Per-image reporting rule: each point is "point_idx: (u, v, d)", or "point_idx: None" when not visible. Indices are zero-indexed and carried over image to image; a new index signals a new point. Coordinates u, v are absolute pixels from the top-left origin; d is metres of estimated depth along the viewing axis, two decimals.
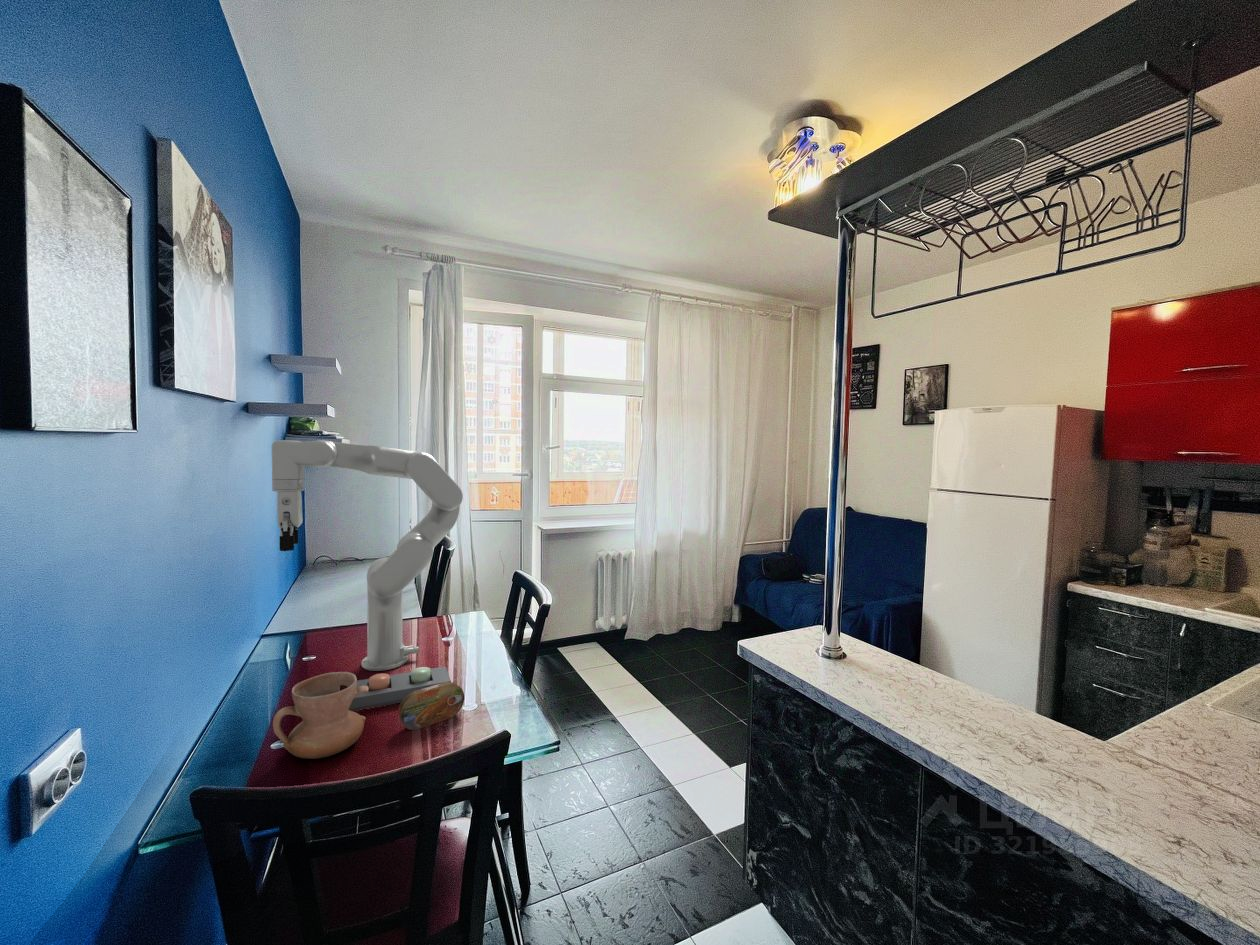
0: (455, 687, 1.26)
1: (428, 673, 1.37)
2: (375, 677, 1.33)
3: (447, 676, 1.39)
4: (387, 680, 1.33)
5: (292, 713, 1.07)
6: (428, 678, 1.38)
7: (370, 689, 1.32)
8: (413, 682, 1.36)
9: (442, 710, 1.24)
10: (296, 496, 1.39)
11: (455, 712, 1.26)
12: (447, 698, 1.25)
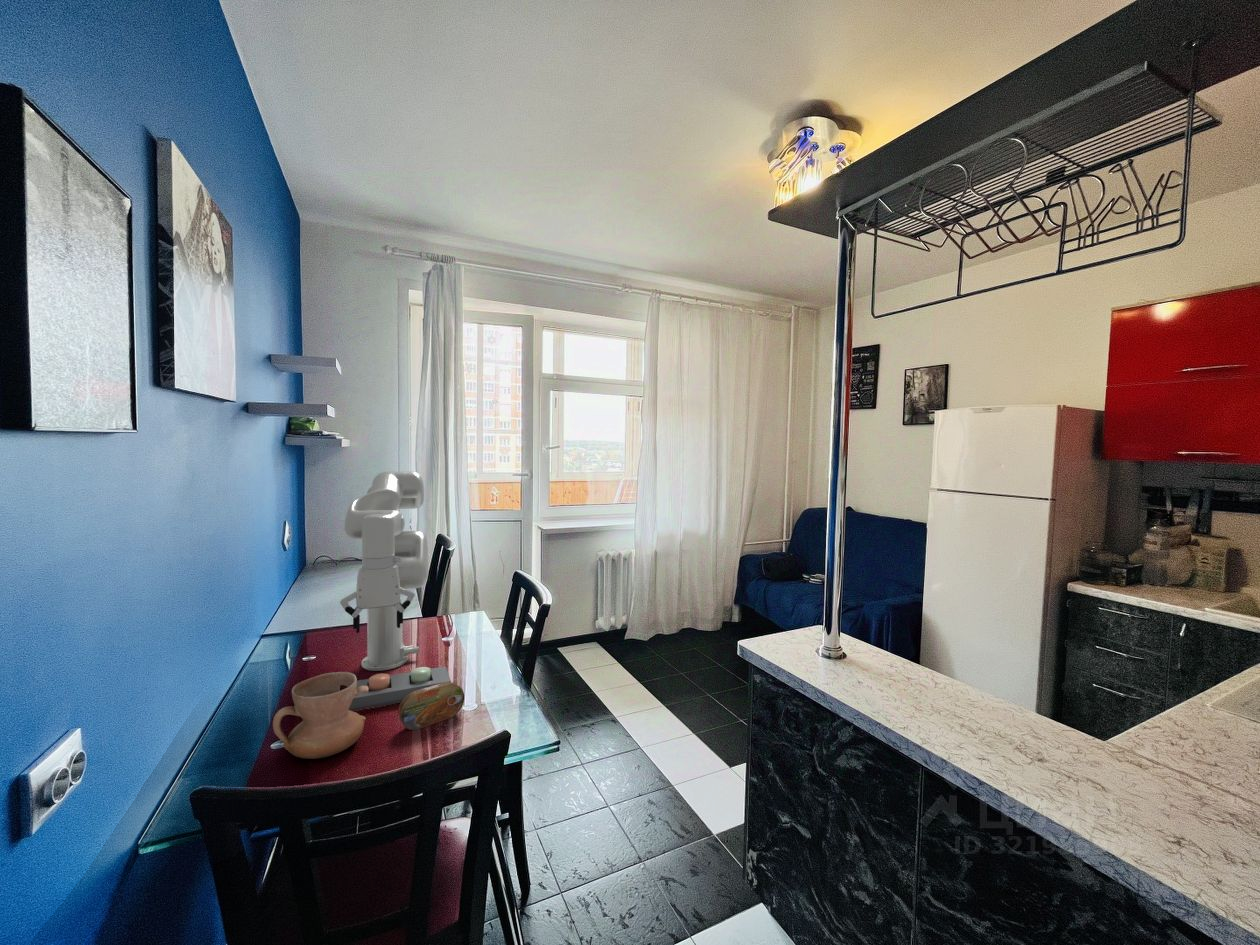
0: (455, 687, 1.26)
1: (428, 673, 1.37)
2: (375, 677, 1.33)
3: (447, 676, 1.39)
4: (387, 680, 1.33)
5: (292, 713, 1.07)
6: (428, 678, 1.38)
7: (370, 689, 1.32)
8: (413, 682, 1.36)
9: (442, 710, 1.24)
10: None
11: (455, 712, 1.26)
12: (447, 698, 1.25)
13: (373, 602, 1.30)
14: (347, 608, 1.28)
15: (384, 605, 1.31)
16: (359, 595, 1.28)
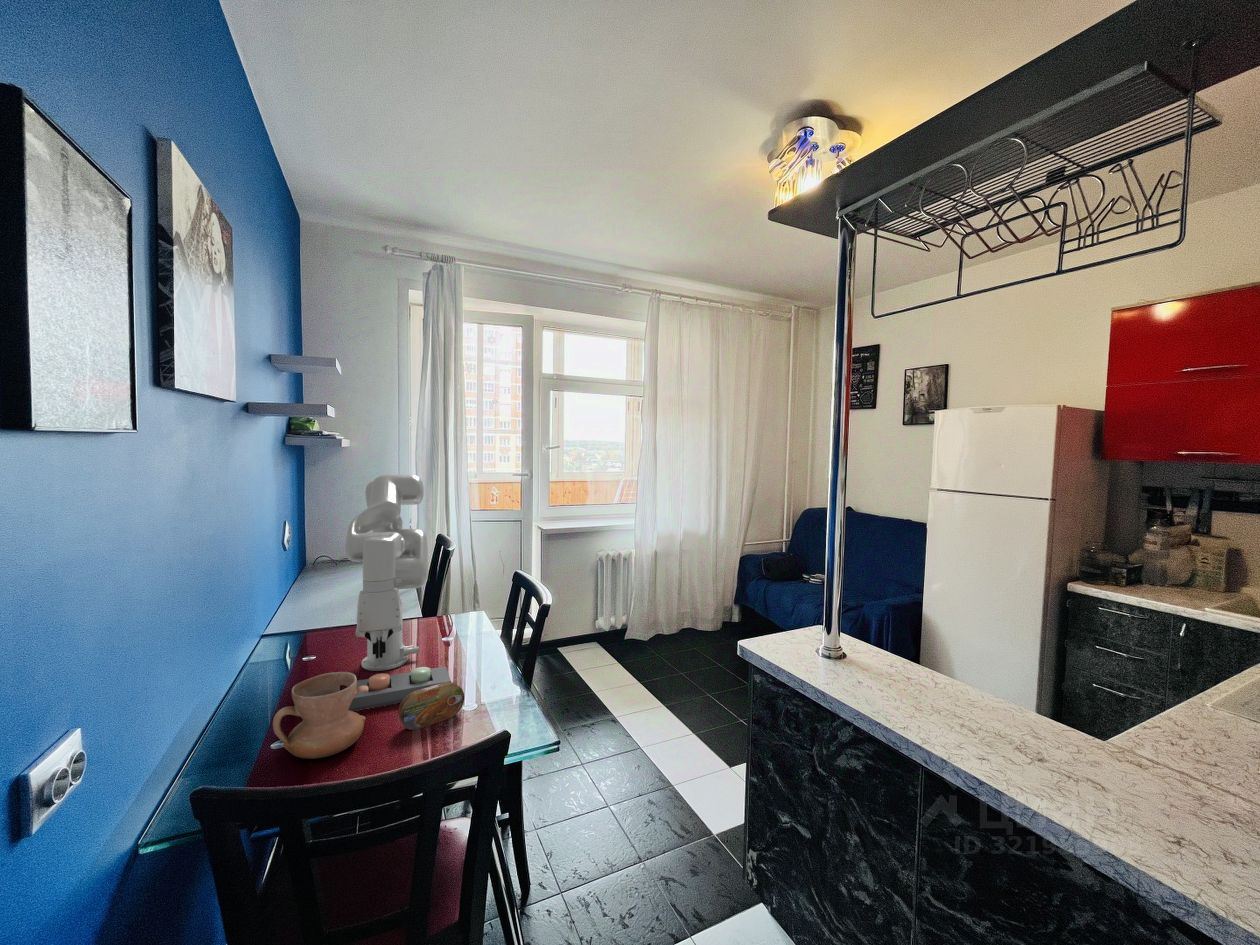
0: (455, 687, 1.26)
1: (428, 673, 1.37)
2: (375, 677, 1.33)
3: (447, 676, 1.39)
4: (387, 680, 1.33)
5: (292, 713, 1.07)
6: (428, 678, 1.38)
7: (370, 689, 1.32)
8: (413, 682, 1.36)
9: (442, 710, 1.24)
10: None
11: (455, 712, 1.26)
12: (447, 698, 1.25)
13: (374, 625, 1.30)
14: (367, 634, 1.30)
15: (385, 628, 1.31)
16: (360, 618, 1.28)
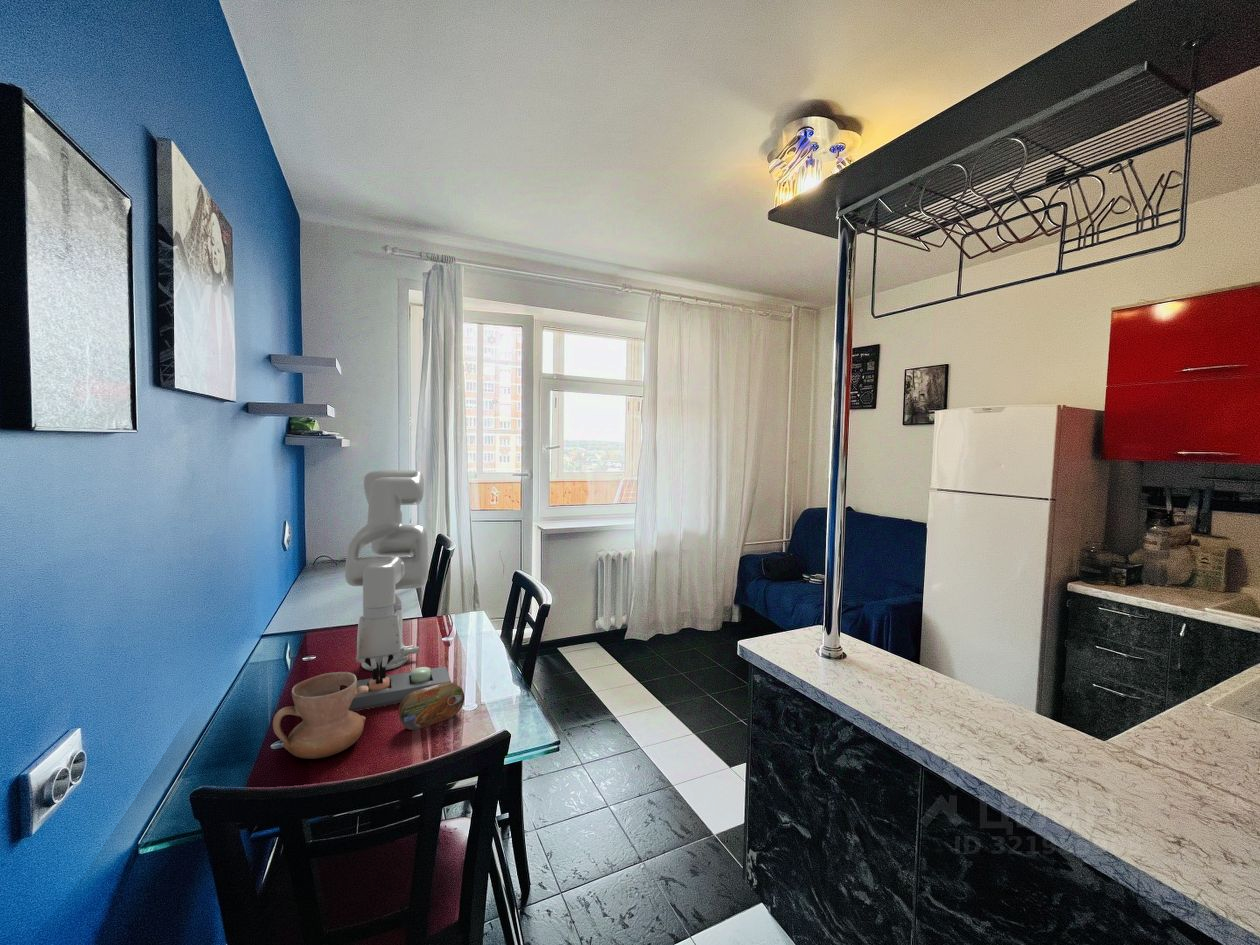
0: (455, 687, 1.26)
1: (428, 673, 1.37)
2: (375, 680, 1.33)
3: (447, 676, 1.39)
4: (387, 683, 1.33)
5: (292, 713, 1.07)
6: (428, 678, 1.38)
7: None
8: (413, 682, 1.36)
9: (442, 710, 1.24)
10: None
11: (455, 712, 1.26)
12: (447, 698, 1.25)
13: (374, 651, 1.30)
14: (367, 660, 1.31)
15: (385, 654, 1.32)
16: (360, 645, 1.29)
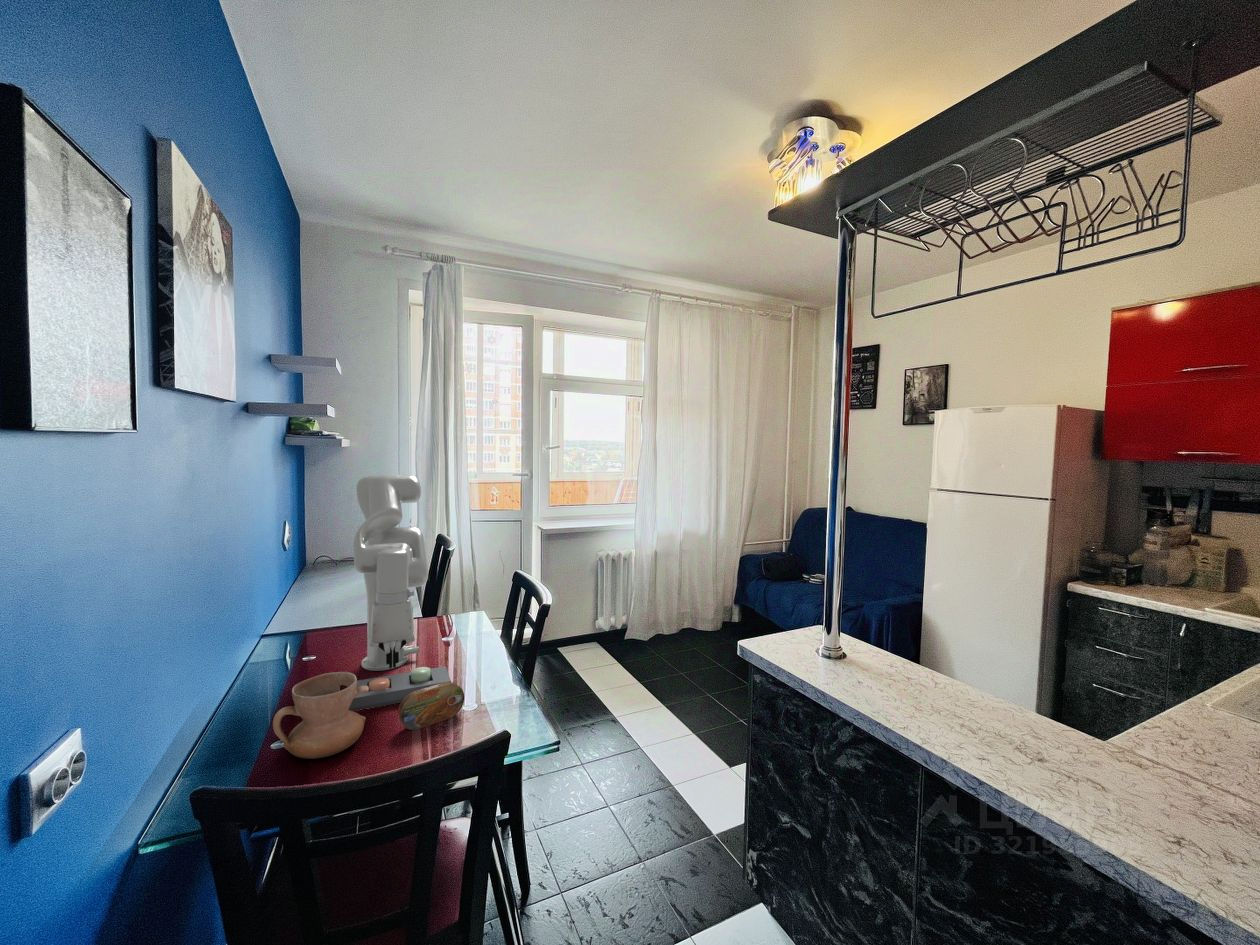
0: (455, 687, 1.26)
1: (428, 673, 1.37)
2: (375, 682, 1.34)
3: (447, 676, 1.39)
4: (387, 685, 1.33)
5: (292, 713, 1.07)
6: (428, 678, 1.38)
7: None
8: (413, 682, 1.36)
9: (442, 710, 1.24)
10: None
11: (455, 712, 1.26)
12: (447, 698, 1.25)
13: (387, 636, 1.32)
14: (380, 644, 1.32)
15: (398, 639, 1.33)
16: (373, 630, 1.30)
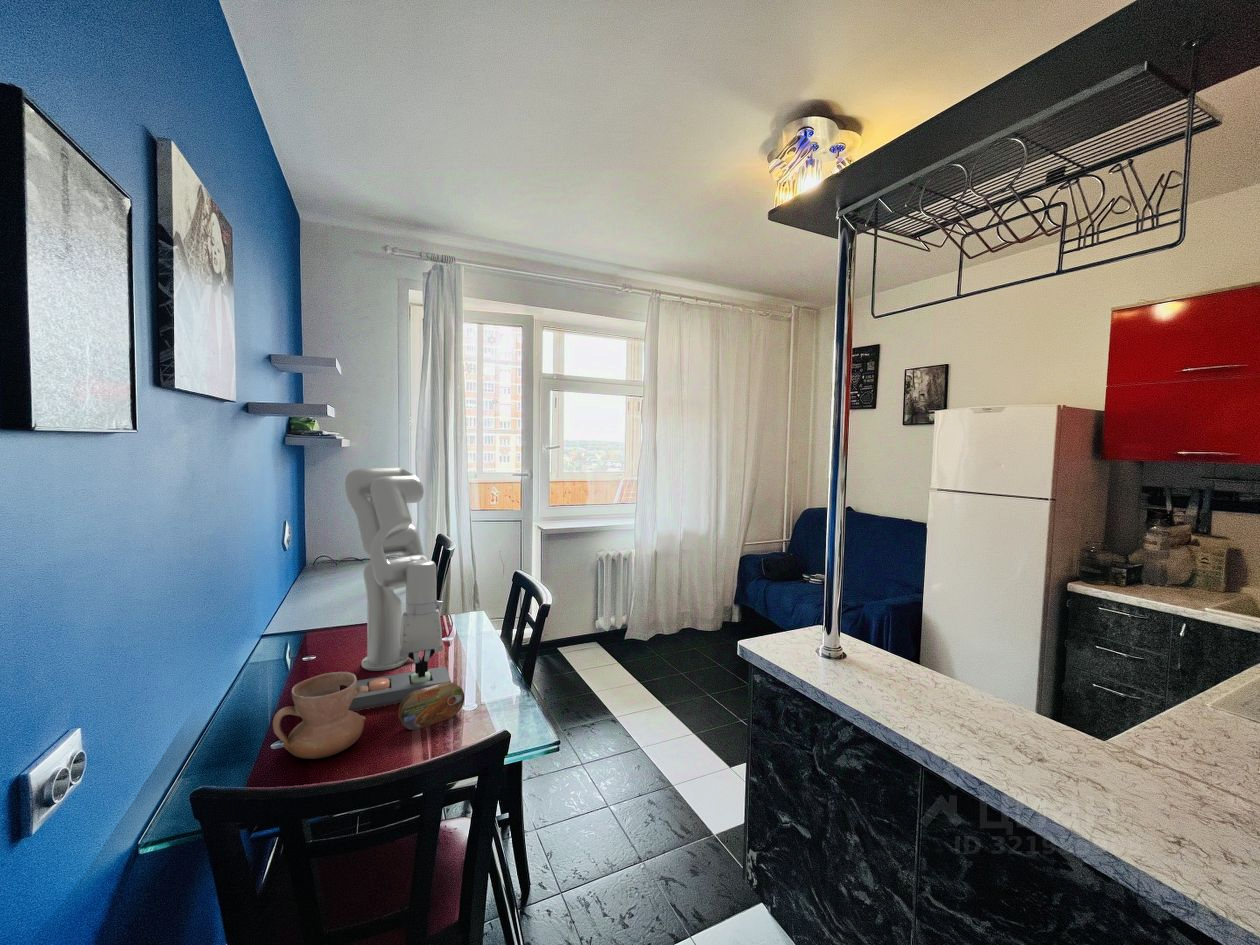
0: (455, 687, 1.26)
1: (428, 677, 1.38)
2: (375, 682, 1.34)
3: (447, 676, 1.39)
4: (387, 685, 1.33)
5: (292, 713, 1.07)
6: None
7: None
8: None
9: (442, 710, 1.24)
10: None
11: (455, 712, 1.26)
12: (447, 698, 1.25)
13: (417, 646, 1.35)
14: (410, 654, 1.35)
15: (427, 648, 1.36)
16: (404, 640, 1.33)
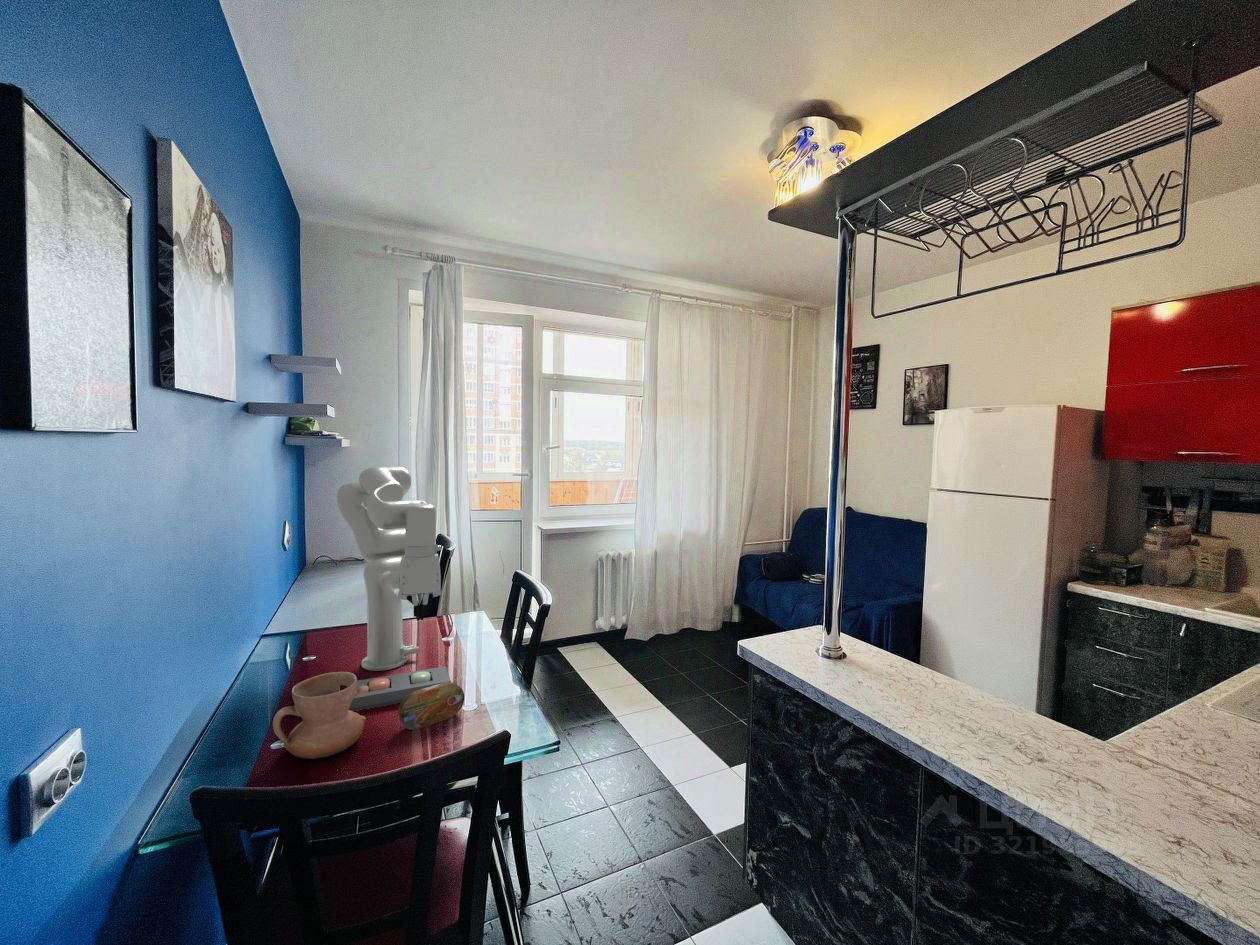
0: (455, 687, 1.26)
1: (428, 678, 1.38)
2: (375, 682, 1.34)
3: (447, 676, 1.39)
4: (387, 685, 1.33)
5: (292, 713, 1.07)
6: None
7: None
8: None
9: (442, 710, 1.24)
10: None
11: (455, 712, 1.26)
12: (447, 698, 1.25)
13: (416, 589, 1.34)
14: (409, 597, 1.35)
15: (426, 592, 1.36)
16: (403, 582, 1.33)
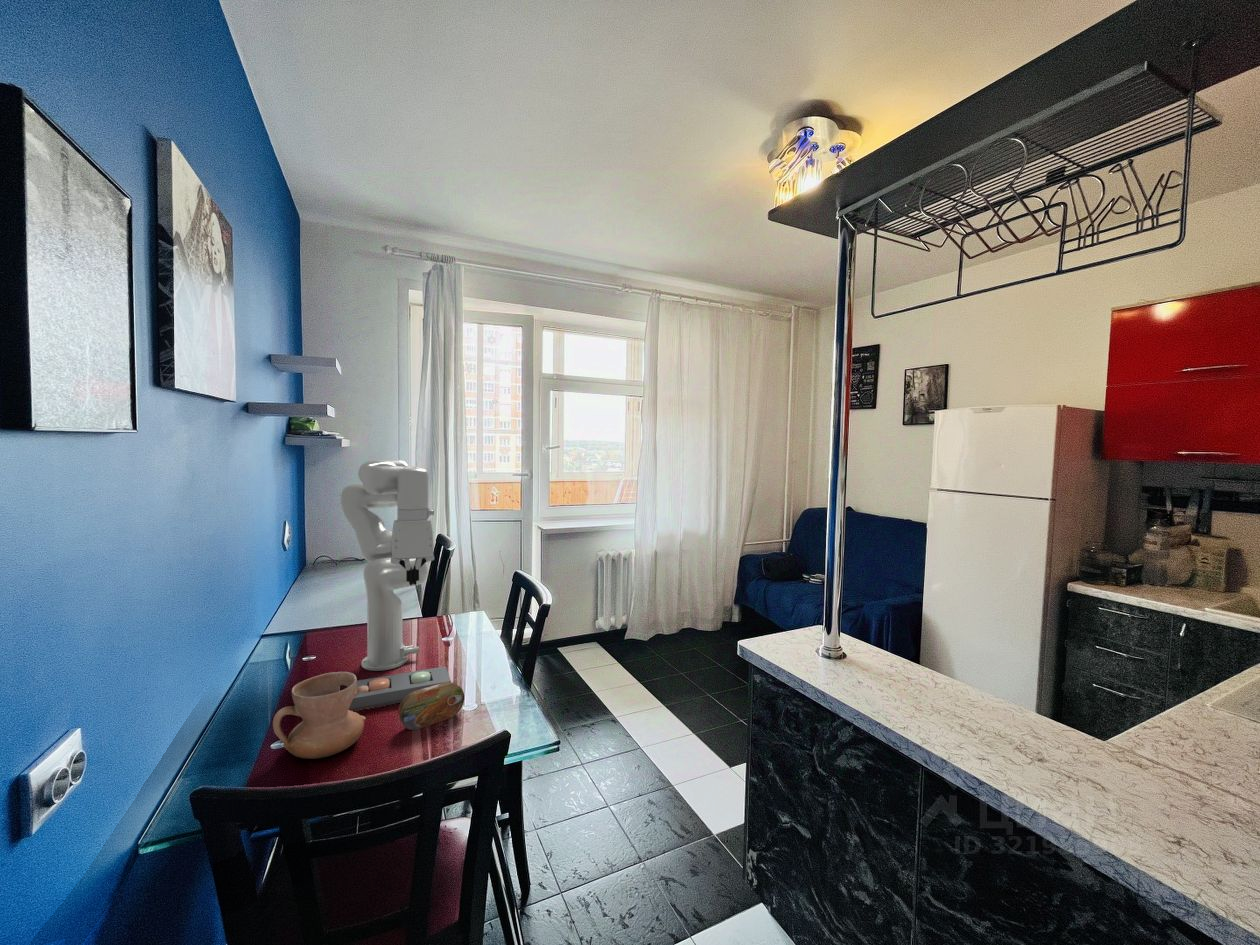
0: (455, 687, 1.26)
1: (428, 678, 1.38)
2: (375, 682, 1.34)
3: (447, 676, 1.39)
4: (387, 685, 1.33)
5: (292, 713, 1.07)
6: None
7: None
8: None
9: (442, 710, 1.24)
10: None
11: (455, 712, 1.26)
12: (447, 698, 1.25)
13: (408, 553, 1.34)
14: (401, 561, 1.34)
15: (418, 556, 1.35)
16: (395, 545, 1.32)
